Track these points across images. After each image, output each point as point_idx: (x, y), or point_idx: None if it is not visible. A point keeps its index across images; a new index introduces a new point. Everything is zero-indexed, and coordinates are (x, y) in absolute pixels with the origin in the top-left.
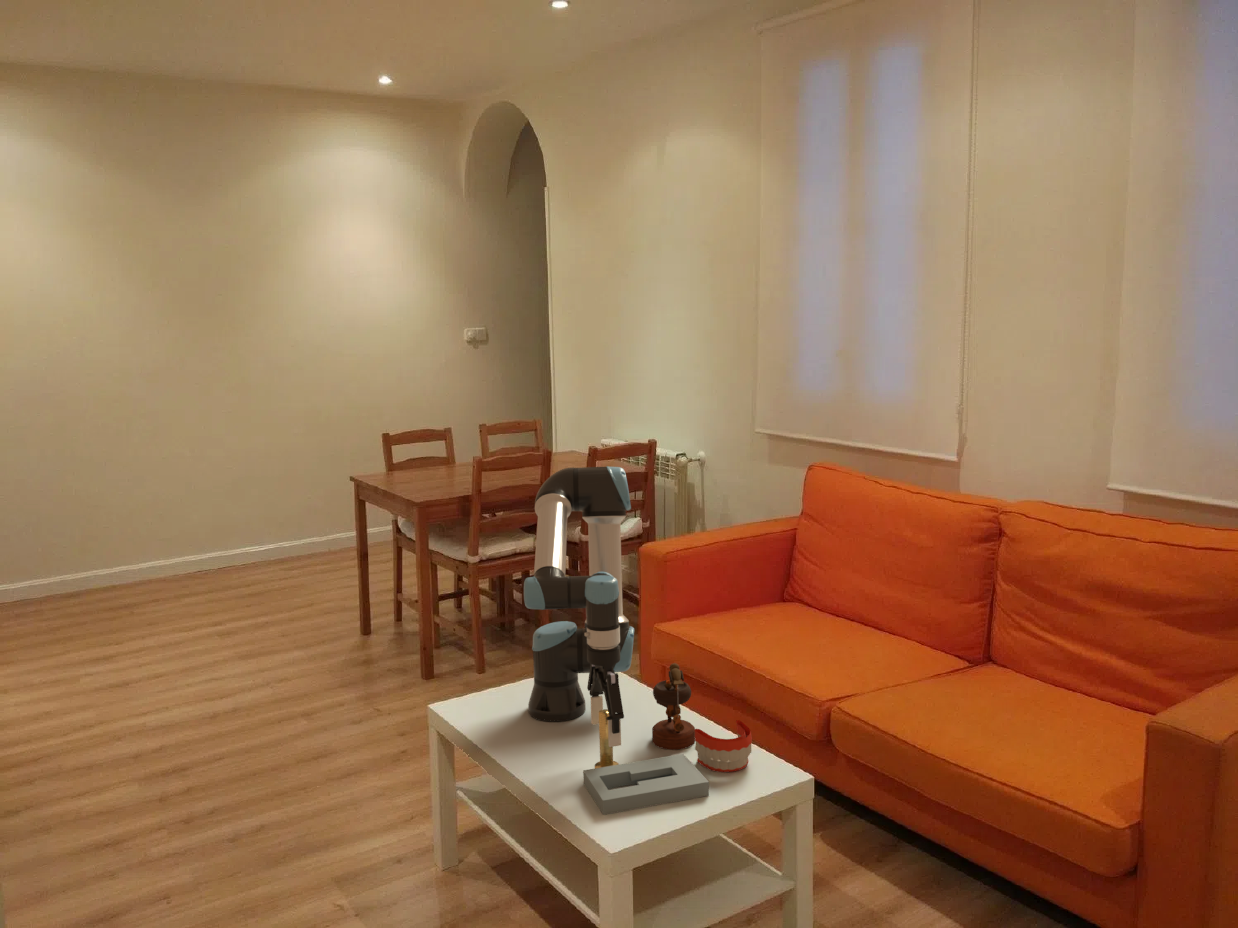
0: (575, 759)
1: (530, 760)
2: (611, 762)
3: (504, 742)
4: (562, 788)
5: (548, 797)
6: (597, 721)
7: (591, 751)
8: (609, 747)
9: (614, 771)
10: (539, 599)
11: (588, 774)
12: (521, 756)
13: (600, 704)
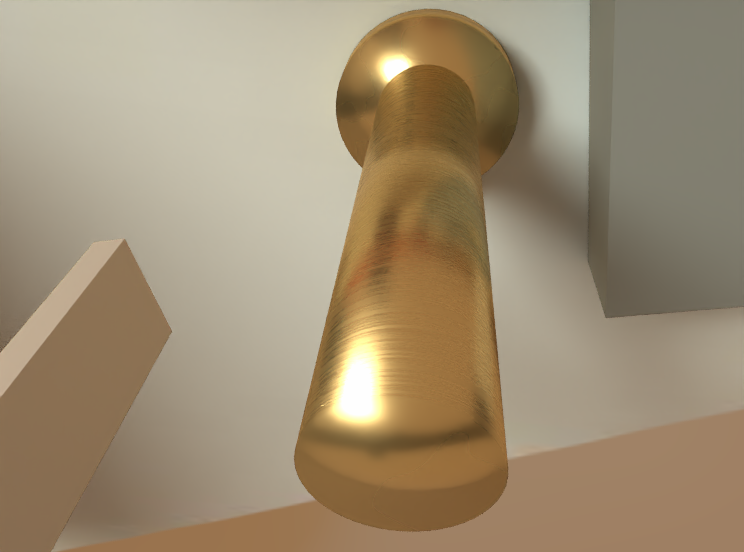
0: (252, 261)
1: (252, 431)
2: (467, 96)
3: None
4: (598, 357)
5: (667, 416)
6: (141, 304)
7: (137, 161)
8: (477, 170)
9: (732, 122)
10: None
11: (682, 297)
12: (209, 453)
13: (18, 422)
